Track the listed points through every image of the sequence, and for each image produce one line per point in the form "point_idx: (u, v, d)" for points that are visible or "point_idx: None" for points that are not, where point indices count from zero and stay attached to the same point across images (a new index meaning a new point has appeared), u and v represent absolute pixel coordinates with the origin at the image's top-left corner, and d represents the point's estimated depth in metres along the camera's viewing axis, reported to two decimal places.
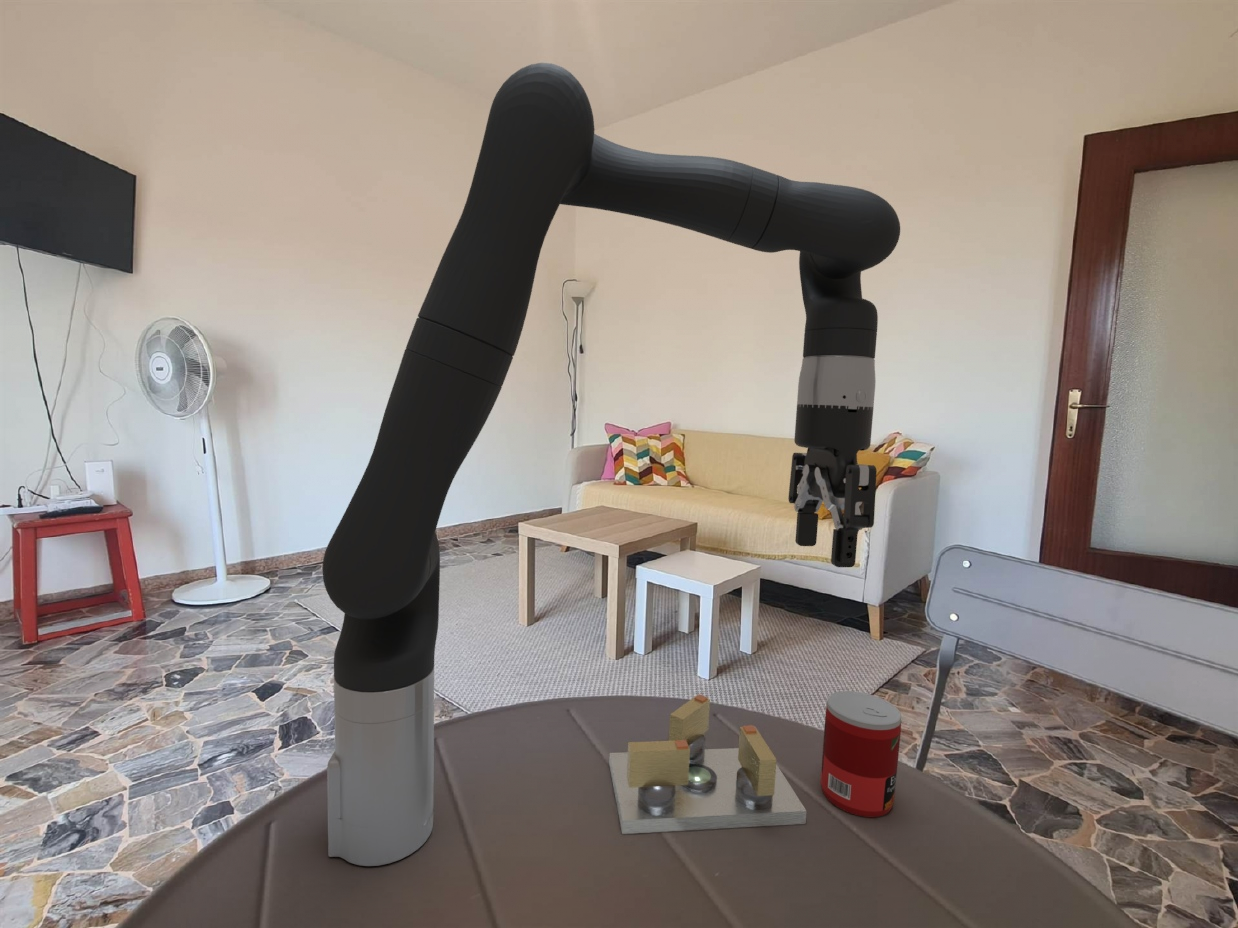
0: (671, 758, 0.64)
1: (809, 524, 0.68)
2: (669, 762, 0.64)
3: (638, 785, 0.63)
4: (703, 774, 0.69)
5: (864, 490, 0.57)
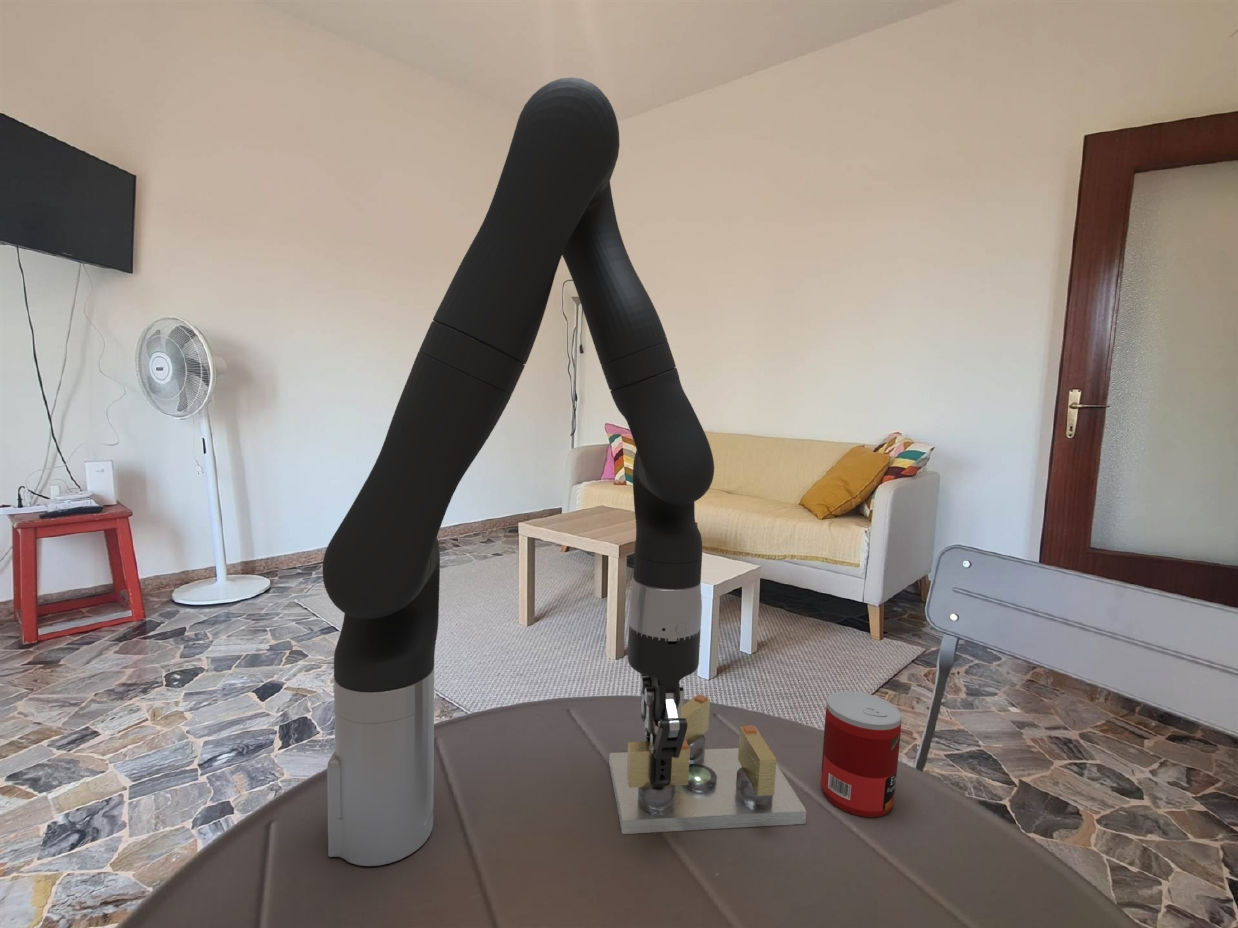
0: None
1: None
2: None
3: (638, 785, 0.63)
4: (703, 774, 0.69)
5: (673, 736, 0.59)
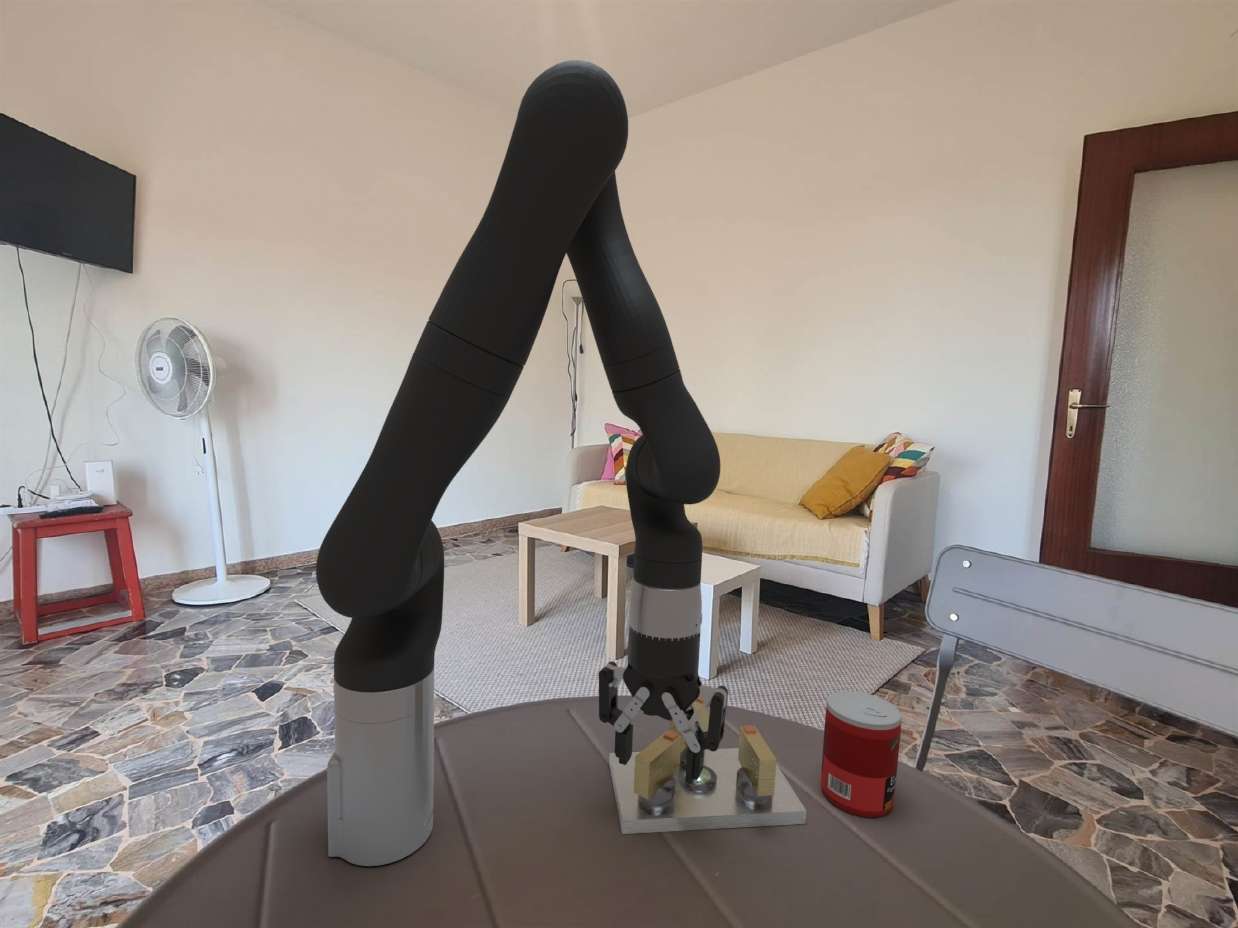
0: (671, 751, 0.65)
1: (629, 739, 0.66)
2: (670, 756, 0.65)
3: (653, 792, 0.62)
4: (703, 774, 0.69)
5: None
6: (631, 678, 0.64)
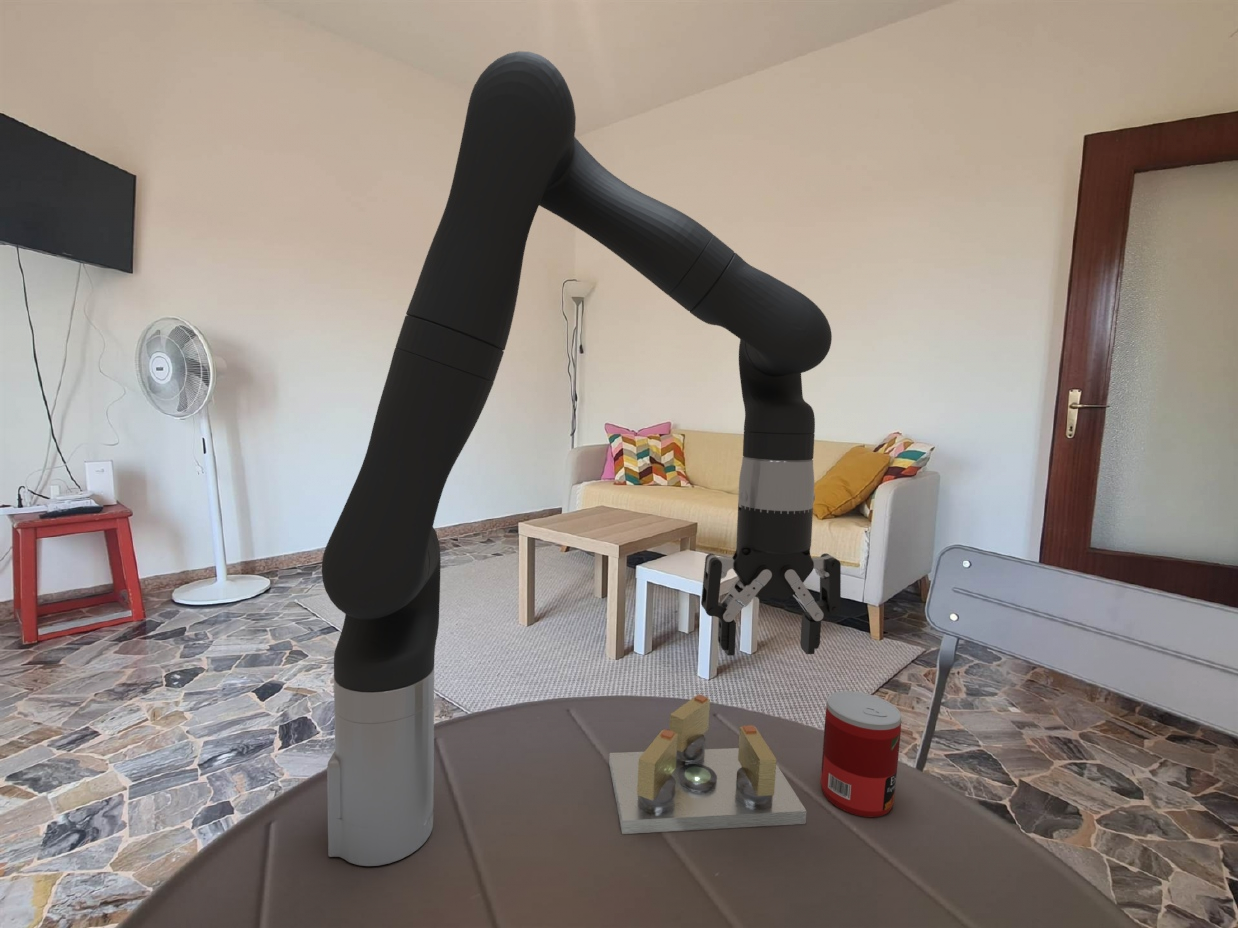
0: (670, 750, 0.65)
1: (805, 629, 0.64)
2: (669, 755, 0.65)
3: (657, 793, 0.62)
4: (703, 774, 0.69)
5: None
6: None
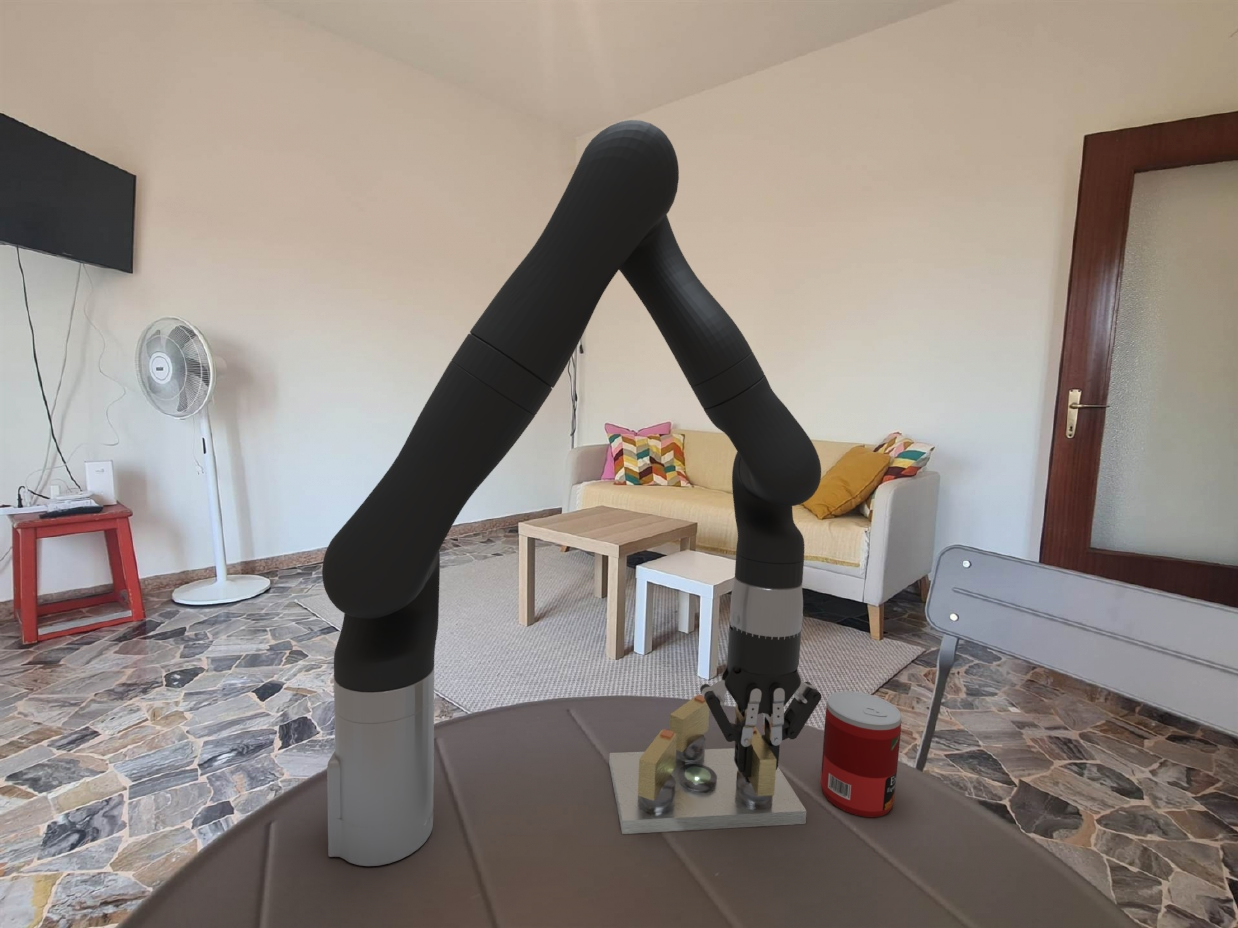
0: (670, 750, 0.65)
1: None
2: (669, 755, 0.65)
3: (657, 793, 0.62)
4: (703, 774, 0.69)
5: None
6: None
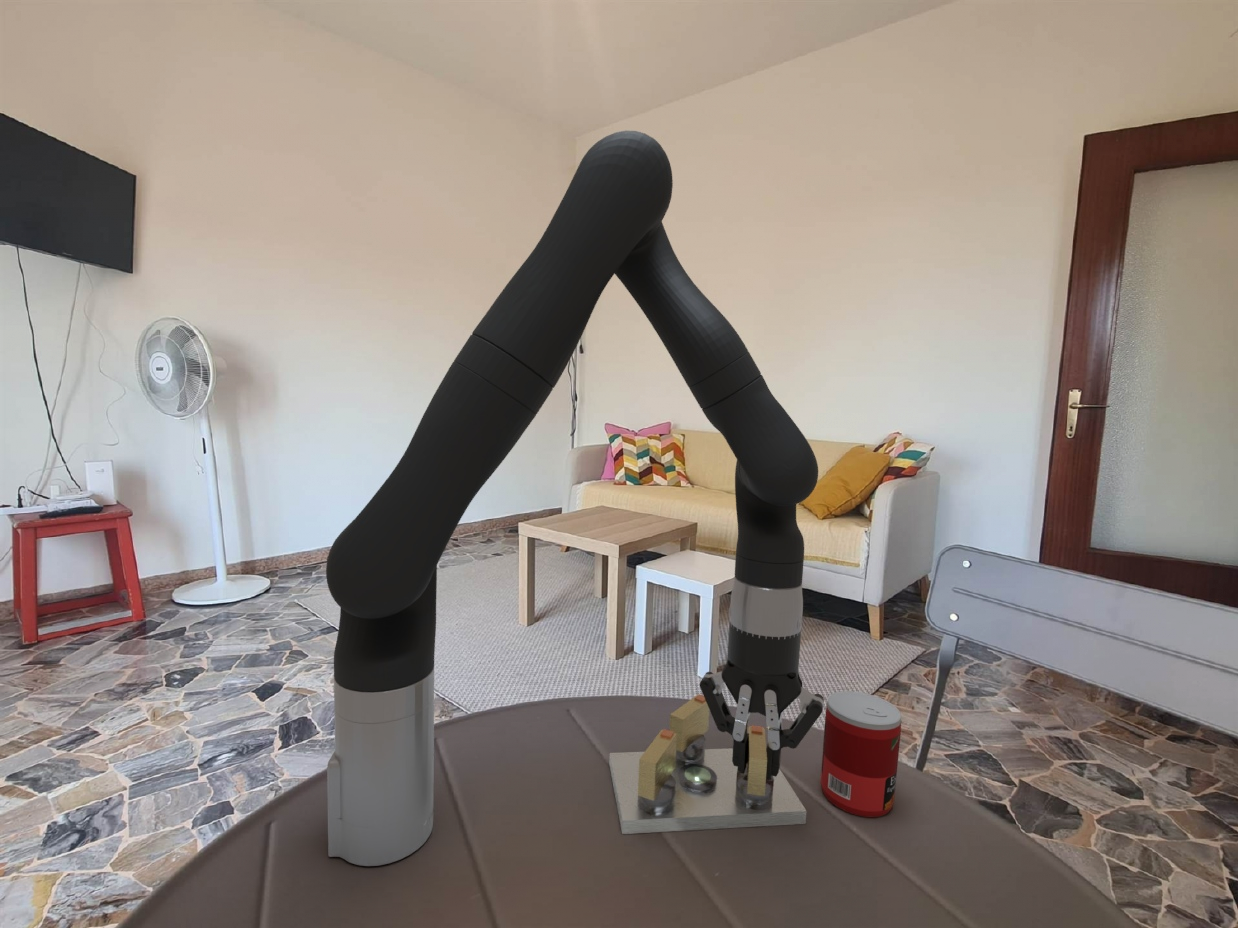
0: (670, 750, 0.65)
1: None
2: (669, 755, 0.65)
3: (657, 793, 0.62)
4: (703, 774, 0.69)
5: None
6: None
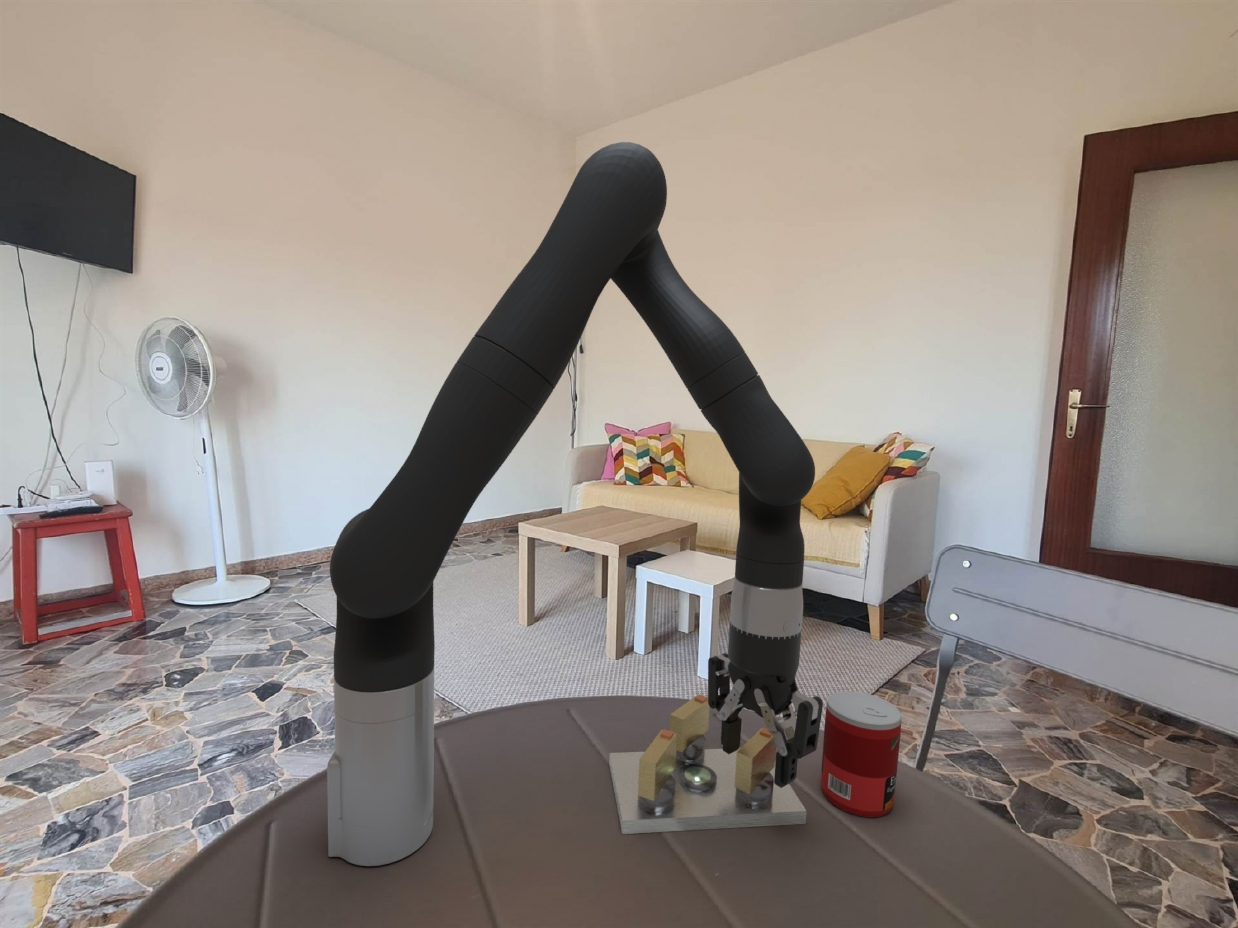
0: (670, 750, 0.65)
1: None
2: (669, 755, 0.65)
3: (657, 793, 0.62)
4: (703, 774, 0.69)
5: None
6: None
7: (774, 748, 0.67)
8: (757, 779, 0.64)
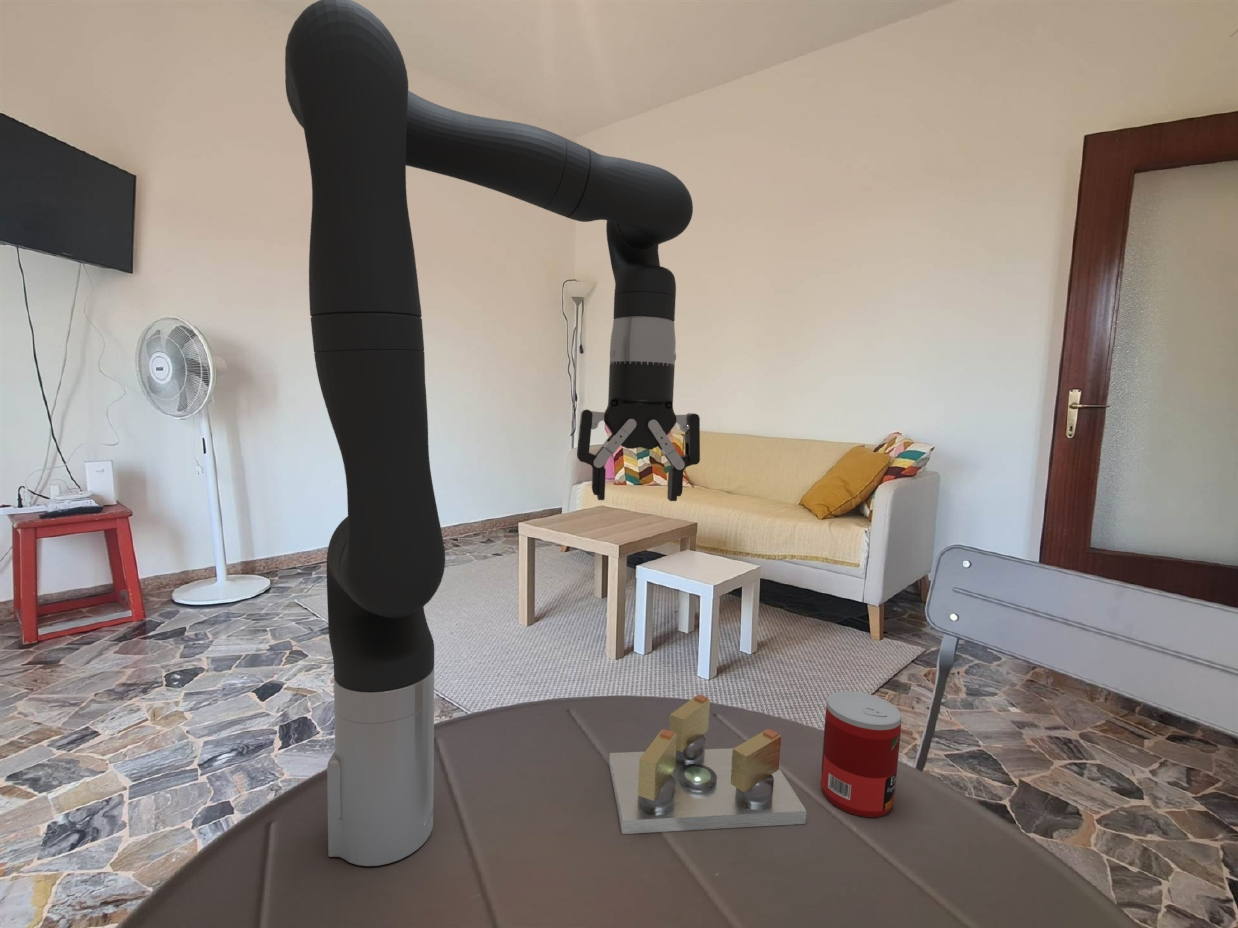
0: (670, 750, 0.65)
1: (670, 479, 0.71)
2: (669, 755, 0.65)
3: (657, 793, 0.62)
4: (703, 774, 0.69)
5: None
6: None
7: (778, 751, 0.67)
8: (754, 778, 0.64)
